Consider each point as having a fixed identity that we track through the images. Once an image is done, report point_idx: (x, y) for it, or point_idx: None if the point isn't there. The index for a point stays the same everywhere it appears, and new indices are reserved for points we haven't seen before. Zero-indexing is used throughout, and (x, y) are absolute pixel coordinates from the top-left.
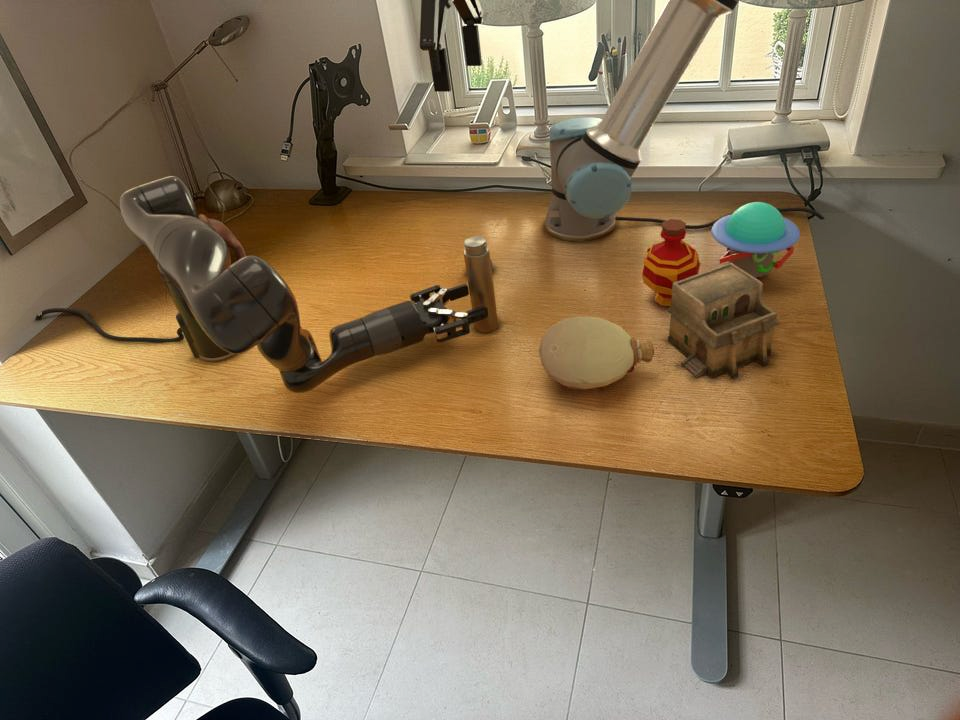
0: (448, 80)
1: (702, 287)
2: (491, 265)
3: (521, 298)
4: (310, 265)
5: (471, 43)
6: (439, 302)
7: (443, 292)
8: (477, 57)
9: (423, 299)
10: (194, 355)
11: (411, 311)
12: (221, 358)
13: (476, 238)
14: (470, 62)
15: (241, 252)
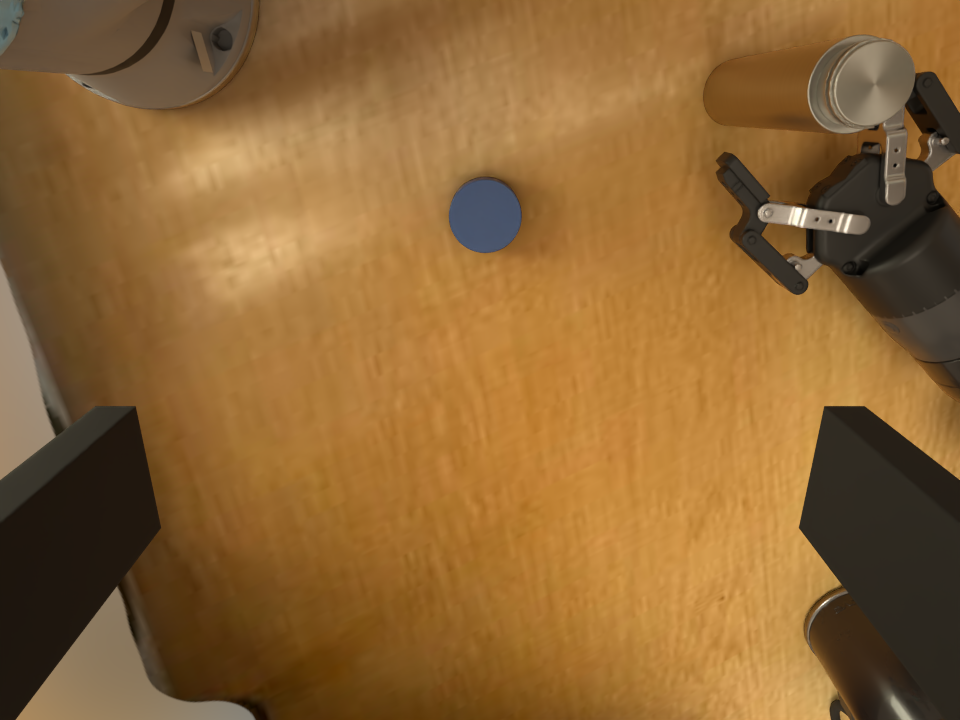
0: (911, 450)
1: None
2: (483, 179)
3: (595, 40)
4: (535, 621)
5: (19, 602)
6: (828, 198)
7: (781, 208)
8: (99, 464)
9: (795, 256)
10: None
11: (949, 233)
12: None
13: (852, 87)
14: (137, 510)
15: None
